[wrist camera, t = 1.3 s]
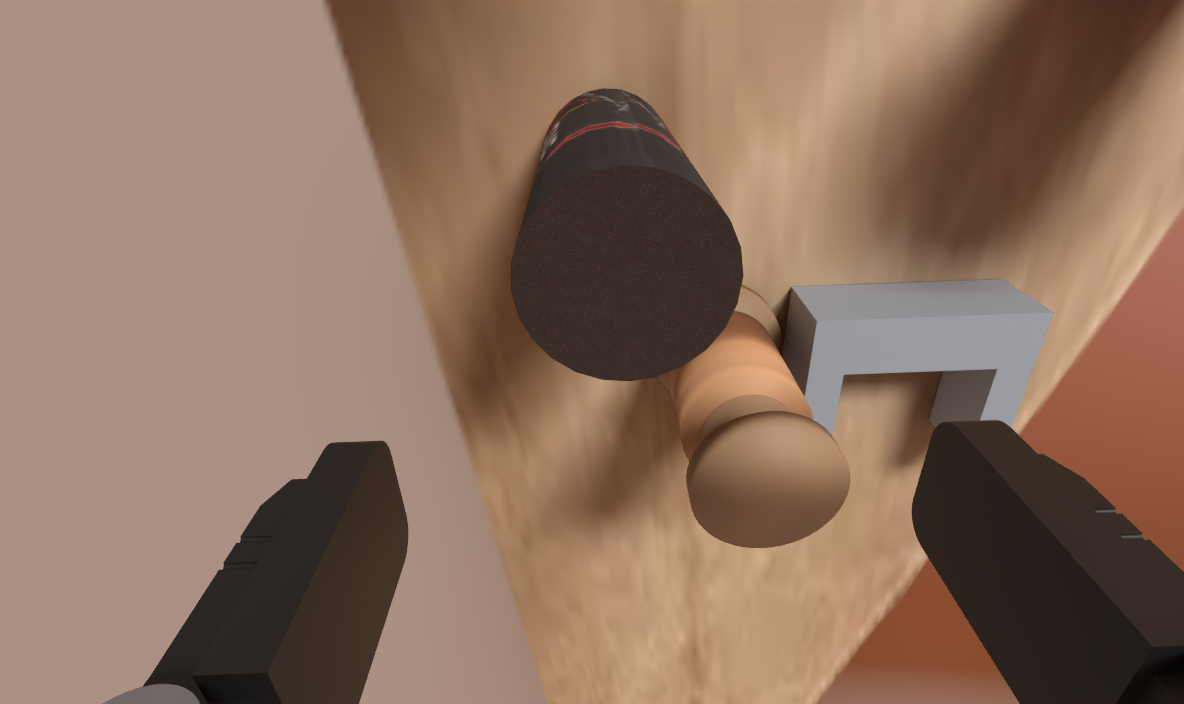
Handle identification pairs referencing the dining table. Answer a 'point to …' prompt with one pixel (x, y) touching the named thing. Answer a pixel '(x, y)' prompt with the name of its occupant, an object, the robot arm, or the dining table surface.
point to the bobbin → (754, 438)
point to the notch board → (918, 342)
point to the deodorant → (622, 245)
